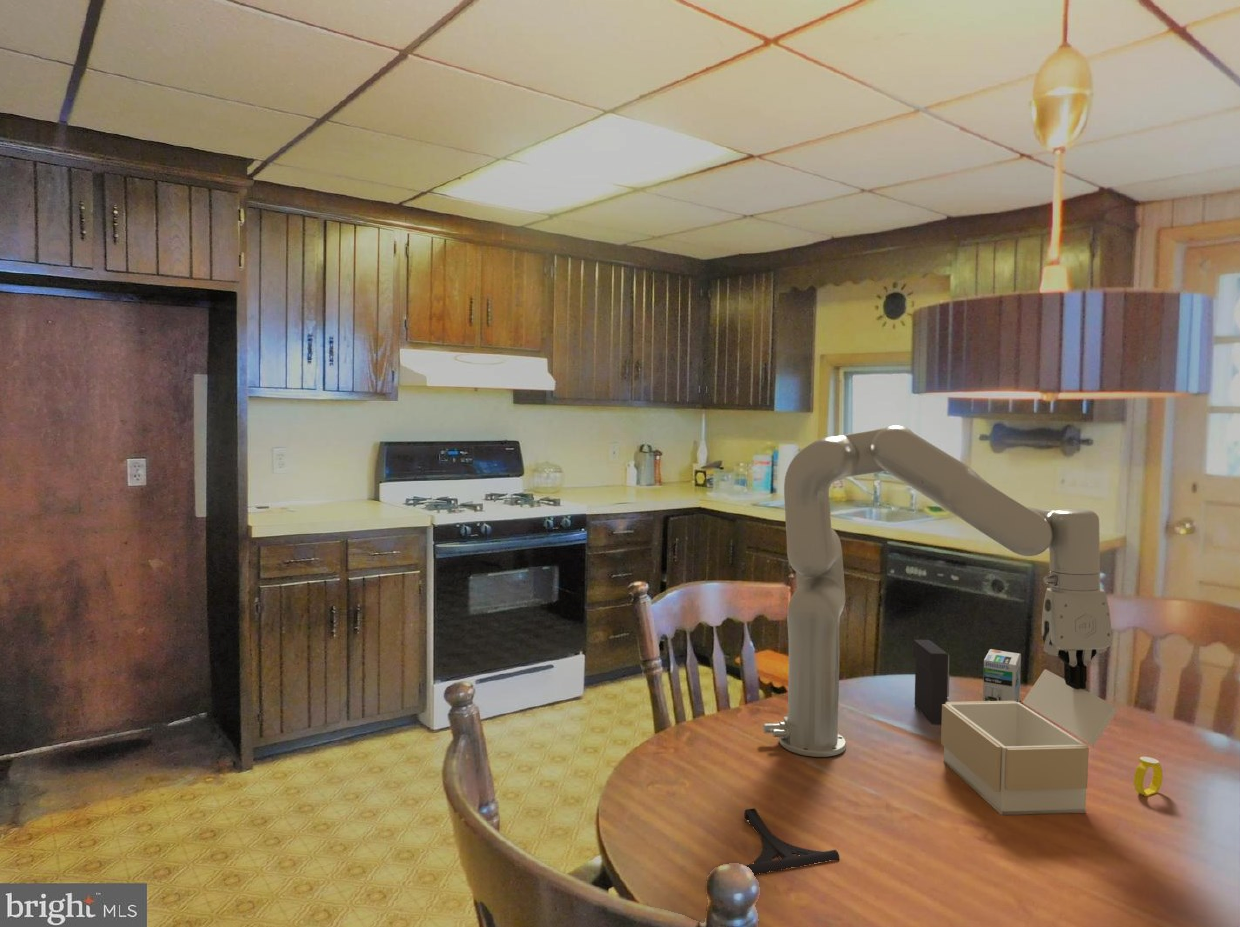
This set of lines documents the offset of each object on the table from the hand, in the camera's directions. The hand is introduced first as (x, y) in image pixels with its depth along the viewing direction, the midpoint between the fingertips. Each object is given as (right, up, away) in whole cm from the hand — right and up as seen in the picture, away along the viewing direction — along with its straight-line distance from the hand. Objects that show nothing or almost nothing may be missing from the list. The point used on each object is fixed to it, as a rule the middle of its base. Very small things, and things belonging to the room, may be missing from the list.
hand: (1075, 686), depth 139 cm
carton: (-11, -17, 0) cm, 21 cm away
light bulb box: (+6, -15, +40) cm, 44 cm away
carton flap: (-2, -3, 0) cm, 3 cm away
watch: (+11, -18, -2) cm, 21 cm away
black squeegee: (-56, -19, -18) cm, 62 cm away
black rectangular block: (-12, -16, +33) cm, 39 cm away
